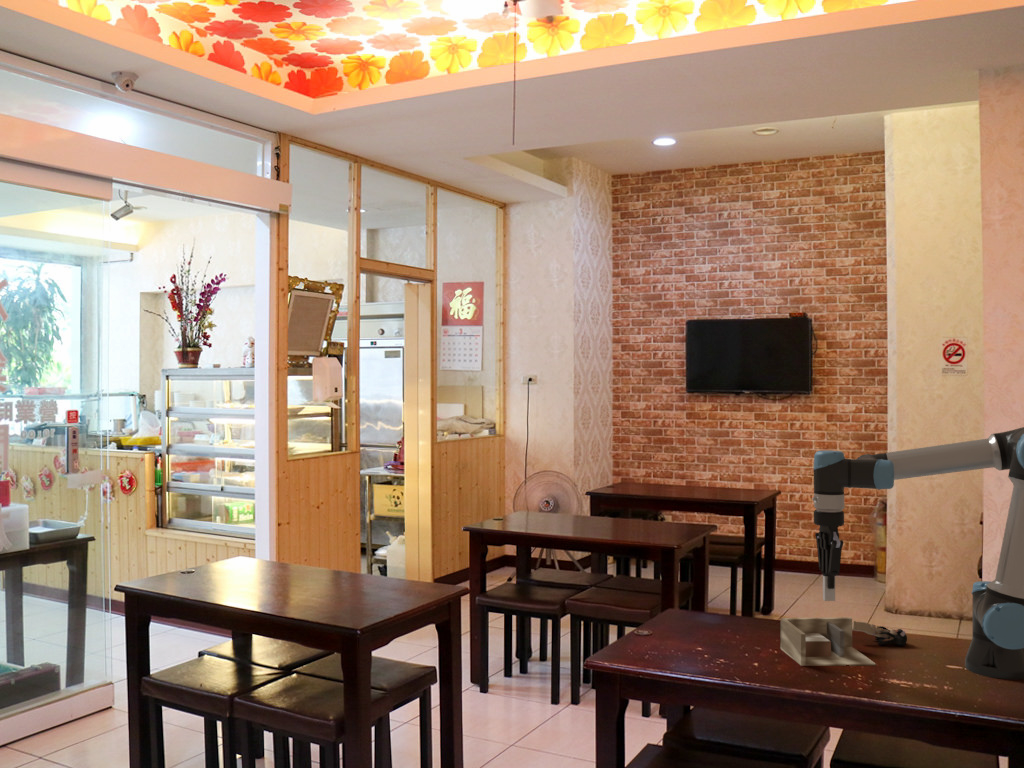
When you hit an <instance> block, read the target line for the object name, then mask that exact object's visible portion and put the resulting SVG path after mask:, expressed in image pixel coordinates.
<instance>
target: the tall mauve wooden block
mask: <svg viewBox="0 0 1024 768" xmlns="http://www.w3.org/2000/svg"><path fill="white" fill-rule="evenodd" d="M805 634H806V657H831V641H829V640H828V639H827V638H825V637H824V636H822V635H821V634H819V633H805Z"/></svg>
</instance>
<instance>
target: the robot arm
mask: <svg viewBox="0 0 1024 768" xmlns="http://www.w3.org/2000/svg"><path fill="white" fill-rule="evenodd" d="M991 468H995V469H996V470H998V471H1005V470H1006V471H1007V470H1008V476H1007V478H1008V479H1009V480H1010V482H1011V483H1012V485H1013V487H1012V491H1011V492H1012V493H1011V498H1010V503H1009V508H1008V513H1007V517H1006V523H1005V529H1004V533H1003V538H1002V544H1001V548H1000V552H999V553H1000V554H999V558H998V564H997V569H996V574H995V578H994V580H992V581H991V580H990V581H986V580H985V581H984V580H982V581H981V580H980V581H979V580H978V581H975V582H973V584H972V589H971V595H972V639H971V641H970V645H969V647H968V650H967V653H966V655H965V658H964V668H965V669H966V670H968V671H969V672H970V673H973V674H976V675H979V676H983V677H987V678H993V679H1001V680H1015V681H1016V680H1017V681H1019V680H1024V427H1018V428H1016V429H1012V430H1006V431H1004V432H1003V431H1002V432H996V433H992V434H990V435H989V437H987V438H980V439H975V440H968V441H962V442H961V441H960V442H954V443H946V444H940V445H939V444H938V445H931V446H925V447H924V446H923V447H917V448H910V449H904V450H898V451H895V450H894V451H891V452H884V453H882V452H881V453H875V454H870V453H869V454H868V453H867V454H863V455H860V456H859V457H857V458H854V459H853V458H846V456H845V453H844V451H842V450H830V449H827V450H824V449H823V450H817V451H816V452H815V453H814V455H813V497H812V498H811V499H812V501H813V507H814V509H815V510H814V511H813V524H814V525H816V526H819V530H818V531H819V532H815V534H814V537H815V541H816V549H817V560H818V562H817V563H818V570H819V571H821V574H822V600H823V601H825V602H835V601H836V577H837V576H840V568H841V561H842V560H841V559H842V549H843V546H844V540H843V539H840V533H839V527H842V526H844V525H845V512H844V511H843V510H844V509H845V489H846V488H848V489H868V490H869V489H872V490H878V491H880V490H891V489H893V488H894V485H895V481H896V480H904V479H911V478H921V477H928V476H929V477H930V476H935V475H936V476H937V475H944V474H951V473H953V474H954V473H959V472H969V471H974V470H975V471H976V470H982V469H991Z"/></svg>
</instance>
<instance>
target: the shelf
mask: <svg viewBox="0 0 1024 768" xmlns="http://www.w3.org/2000/svg"><path fill="white" fill-rule="evenodd" d="M852 624H853V618H852V617H843V616H842V617H783V618H782V617H781V618H780V625H779V626H780V627H779V628H780V629H779V630H780V636H779V637H780V638H779V639H780V640H779V641H780V646H779V647H780V648H779V649H780V650H781V651H782V652H783V653H785V654H786V655H787V656H788V657H790V658H791V659H792V660H793V661H795V662H796V663H797V664H798V665H799V666H802V667H803V666H804V667H805V666H806V667H809V666H811V667H813V666H814V667H815V666H817V667H819V666H820V667H822V666H825V667H826V666H828V667H829V666H833V667H835V666H843V667H845V666H846V665H849V666H876V665H877V663H875V662H874V661H873V660H871V659H870V658H869V657H867V656H866V655H865V654H863V653H861V652H860V651H858V650H857V649H856V648H854V647H853V630H852ZM805 633H819V634H821V635H822V636H824V637H825V638H827V639H828V640H829V641H831V657H806V634H805Z"/></svg>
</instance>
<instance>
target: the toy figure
mask: <svg viewBox="0 0 1024 768" xmlns="http://www.w3.org/2000/svg"><path fill="white" fill-rule="evenodd" d="M853 631H855V632H863V633H866V634H867V635H870V636H874V639H875V641H876V642H877V644H878V646H885V645H891V644H894V645H897V646H899V647H900V646H901V647H904V646H905V645H907V642H908V636H907V633H906V631H905V630H903V629H902V628H898V629H896V628H895V629H893V628H891V629H889V628H888V627H886V626H884V625H883V626H881V625H877V626H876V625H875V624H870V623H869V622H865V621H856V620H852V632H853Z"/></svg>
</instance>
